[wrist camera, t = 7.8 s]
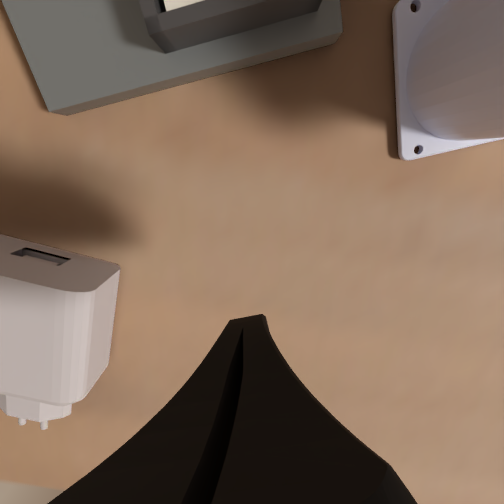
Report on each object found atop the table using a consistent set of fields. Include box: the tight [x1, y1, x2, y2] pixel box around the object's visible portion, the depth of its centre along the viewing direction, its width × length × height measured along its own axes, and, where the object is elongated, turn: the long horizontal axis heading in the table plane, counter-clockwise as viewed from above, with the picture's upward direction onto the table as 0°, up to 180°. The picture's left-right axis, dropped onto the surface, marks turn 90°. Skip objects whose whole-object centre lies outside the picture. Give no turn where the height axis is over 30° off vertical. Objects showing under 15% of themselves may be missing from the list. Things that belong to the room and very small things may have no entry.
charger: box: [0, 234, 120, 430], centre depth 20 cm, size 5×9×15 cm
